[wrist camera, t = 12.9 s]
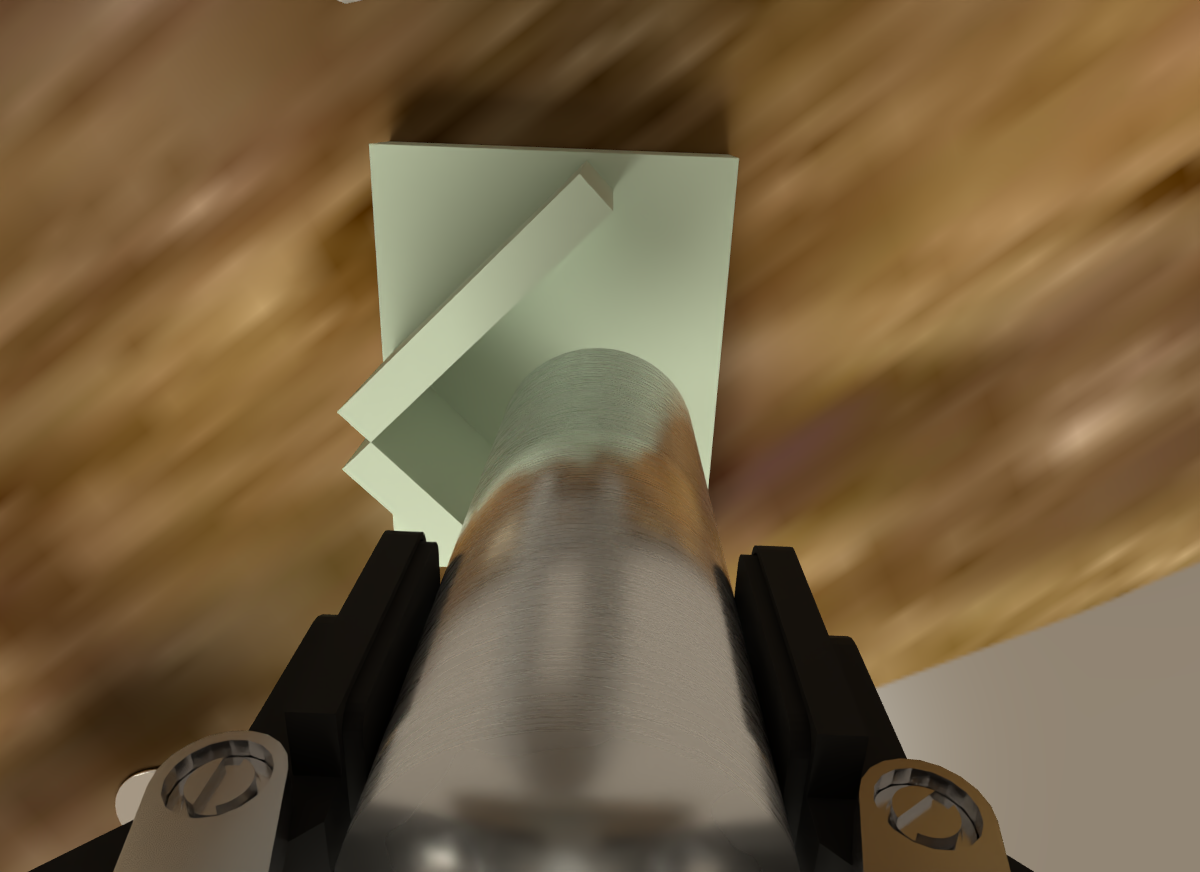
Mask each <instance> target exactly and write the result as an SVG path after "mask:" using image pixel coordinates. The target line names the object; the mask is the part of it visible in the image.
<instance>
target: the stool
mask: <svg viewBox="0 0 1200 872" xmlns="http://www.w3.org/2000/svg"><path fill="white" fill-rule="evenodd" d="M338 1H340V2H343V3H345V4H346V3H351V2H355V1H360V0H338Z"/></svg>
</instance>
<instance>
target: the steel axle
mask: <svg viewBox="0 0 1200 872" xmlns="http://www.w3.org/2000/svg"><path fill="white" fill-rule="evenodd" d="M334 872H800V868H799V864H798V860H797V856H796V852H795V848H794V843H793V839H792V835H791V831H790V827H789V823H788V819H787V815H786V810H785V806H784V802H783V798H782V794H781V790H780V786H779V781H778V777H777V773H776V769H775V765H774V761H773V757H772V752H771V748H770V744H769V740H768V736H767V732H766V728H765V724H764V719H763V715H762V711H761V707H760V703H759V699H758V695H757V690H756V686H755V682H754V678H753V674H752V670H751V666H750V662H749V657H748V653H747V649H746V645H745V641H744V637H743V633H742V628H741V624H740V620H739V616H738V612H737V608H736V604H735V599H734V595H733V591H732V587H731V583H730V579H729V575H728V571H727V566H726V562H725V558H724V554H723V550H722V546H721V542H720V537H719V533H718V529H717V525H716V521H715V517H714V513H713V508H712V504H711V500H710V496H709V492H708V488H707V484H706V480H705V475H704V471H703V467H702V463H701V459H700V455H699V451H698V446H697V442H696V438H695V434H694V430H693V426H692V422H691V418H690V414H689V411H688V408H687V406H686V403H685V401H684V399H683V397H682V396H681V394H680V392H679V391H678V389H677V388H676V386H675V385H674V384H673V383H672V382H671V380H670V379H669V378H668V377H667V376H666V375H665V374H664V373H663V372H661V371H660V370H659V369H658V368H656V367H655V366H653V365H652V364H651V363H649V362H647V361H645V360H643V359H641V358H640V357H637V356H635V355H632V354H629V353H627V352H623V351H618V350H614V349H605V348H587V349H580V350H574V351H571V352H567V353H564V354H561V355H559V356H556V357H554V358H552V359H550V360H548V361H546V362H545V363H543V364H541V365H540V366H538V367H537V368H536V369H535V370H533V371H532V372H531V373H530V374H529V375H528V376H527V377H526V378H525V379H524V380H523V381H522V382H521V384H520V385H519V386H518V388H517V389H516V390H515V392H514V394H513V396H512V398H511V399H510V401H509V404H508V406H507V409H506V411H505V414H504V417H503V419H502V422H501V425H500V427H499V430H498V433H497V435H496V438H495V441H494V443H493V446H492V449H491V451H490V454H489V457H488V459H487V462H486V465H485V467H484V470H483V473H482V475H481V478H480V481H479V483H478V486H477V489H476V491H475V494H474V497H473V499H472V502H471V504H470V507H469V510H468V512H467V515H466V518H465V520H464V523H463V526H462V528H461V531H460V534H459V536H458V539H457V542H456V544H455V547H454V550H453V552H452V555H451V558H450V560H449V563H448V566H447V568H446V571H445V574H444V576H443V579H442V582H441V584H440V587H439V590H438V592H437V595H436V598H435V600H434V603H433V605H432V608H431V611H430V613H429V616H428V619H427V621H426V624H425V627H424V629H423V632H422V635H421V637H420V640H419V643H418V645H417V648H416V651H415V653H414V656H413V659H412V661H411V664H410V667H409V669H408V672H407V675H406V677H405V680H404V683H403V685H402V688H401V691H400V693H399V696H398V698H397V701H396V704H395V706H394V709H393V712H392V714H391V717H390V720H389V722H388V725H387V728H386V730H385V733H384V736H383V738H382V741H381V744H380V746H379V749H378V752H377V754H376V757H375V760H374V762H373V765H372V768H371V770H370V773H369V776H368V778H367V781H366V784H365V786H364V789H363V792H362V794H361V797H360V799H359V802H358V805H357V807H356V810H355V813H354V815H353V818H352V821H351V823H350V826H349V829H348V831H347V834H346V837H345V839H344V842H343V845H342V848H341V850H340V853H339V856H338V859H337V862H336V865H335V870H334Z"/></svg>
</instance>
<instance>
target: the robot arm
mask: <svg viewBox="0 0 1200 872" xmlns="http://www.w3.org/2000/svg"><path fill="white" fill-rule="evenodd" d="M439 587H440V568H439V549H438V544H437V542H426V537H425V534H424V532H414V531H390V530H387V531H385V532H384V533H383V535H382V537H381V538H380V540H379V542H378V544H377V546H376V547H375V549H374V551H373V553H372V555H371V556H370V558H369V560H368V562H367V564H366V565H365V567H364V569H363V571H362V573H361V574H360V576H359V578H358V580H357V582H356V583H355V585H354V587H353V589H352V591H351V592H350V594H349V596H348V598H347V600H346V601H345V603H344V605H343V607H342V609H341V610H340V612H339V614H338V615H326V614H323V615H320V616H318V617H317V618H316V619H315V621H314V622H313V623H312V625H311V627H310V628H309V630H308V632H307V633H306V635H305V637H304V638H303V640H302V642H301V644H300V645H299V647H298V649H297V650H296V652H295V654H294V655H293V657H292V659H291V660H290V662H289V664H288V665H287V667H286V669H285V670H284V672H283V674H282V675H281V677H280V679H279V680H278V682H277V684H276V685H275V687H274V689H273V691H272V692H271V694H270V696H269V697H268V699H267V701H266V702H265V704H264V706H263V707H262V709H261V711H260V712H259V714H258V716H257V717H256V719H255V721H254V722H253V724H252V726H251V727H250V729H249V731H229V732H225V733H220V734H215V735H211V736H208V737H206V738H203V739H201V740H198V741H196V742H193V743H191V744H189V745H187V746H186V747H184V748H183V749H181V750H179V751H178V752H176V753H175V754H173V755H172V756H170V757H169V758H168V759H167V760H166V761H165V762H164V763H163V764H162V765H161V766H160V767H159V768H158V769H157V770H156V772H155V773H154V775H153V777H152V778H151V780H150V782H149V783H148V785H147V787H146V790H145V792H144V795H143V798H142V800H141V803H140V805H139V808H138V810H137V813H136V815H135V818H134V820H132V821H130V822H128V823H126V824H124V825H122V826H120V827H118V828H116V829H114V830H112V831H110V832H108V833H106V834H104V835H101V836H99V837H97V838H95V839H93V840H91V841H89V842H87V843H85V844H83V845H81V846H79V847H77V848H75V849H73V850H71V851H69V852H67V853H65V854H63V855H61V856H59V857H57V858H55V859H53V860H51V861H49V862H47V863H45V864H43V865H41V866H39V867H37V868H35V869H33V870H31V871H29V872H334V870H335V865H336V862H337V859H338V856H339V853H340V850H341V848H342V845H343V842H344V839H345V837H346V834H347V831H348V829H349V826H350V823H351V821H352V818H353V815H354V813H355V810H356V807H357V805H358V802H359V799H360V797H361V794H362V792H363V789H364V786H365V784H366V781H367V778H368V776H369V773H370V770H371V768H372V765H373V762H374V760H375V757H376V754H377V752H378V749H379V746H380V744H381V741H382V738H383V736H384V733H385V730H386V728H387V725H388V722H389V720H390V717H391V714H392V712H393V709H394V706H395V704H396V701H397V698H398V696H399V693H400V691H401V688H402V685H403V683H404V680H405V677H406V675H407V672H408V669H409V667H410V664H411V661H412V659H413V656H414V653H415V651H416V648H417V645H418V643H419V640H420V637H421V635H422V632H423V629H424V627H425V624H426V621H427V619H428V616H429V613H430V611H431V608H432V605H433V603H434V600H435V598H436V595H437V592H438V590H439ZM734 599H735V604H736V608H737V612H738V616H739V620H740V624H741V628H742V633H743V637H744V641H745V645H746V649H747V653H748V657H749V662H750V666H751V670H752V674H753V678H754V682H755V686H756V690H757V695H758V699H759V703H760V707H761V711H762V715H763V719H764V724H765V728H766V732H767V736H768V740H769V744H770V748H771V752H772V757H773V761H774V765H775V769H776V773H777V777H778V781H779V786H780V790H781V794H782V798H783V802H784V806H785V810H786V815H787V819H788V823H789V827H790V831H791V835H792V839H793V843H794V848H795V852H796V856H797V860H798V864H799V868H800V872H1034V871H1032V870H1030V869H1029V868H1027V867H1026V866H1024V865H1022V864H1021V863H1019V862H1017V861H1016V860H1014V859H1013V858H1011V857H1009V856H1008V855H1006V851H1005V847H1004V843H1003V839H1002V836H1001V832H1000V827H999V824H998V821H997V818H996V816H995V814H994V812H993V810H992V807H991V805H990V804H989V803H988V802H987V800H986V799H985V798H984V797H983V796H982V794H981V793H980V792H979V791H978V790H977V789H976V788H975V787H973V786H972V785H971V784H970V783H968V782H967V781H966V780H964V779H963V778H962V777H960V776H958V775H957V774H955V773H953V772H951V771H949V770H947V769H945V768H943V767H941V766H938V765H934V764H931V763H928V762H925V761H921V760H913V759H912V760H911V759H907V758H906V756H905V753H904V751H903V749H902V747H901V744H900V742H899V740H898V738H897V736H896V733H895V731H894V729H893V726H892V724H891V722H890V720H889V717H888V715H887V713H886V711H885V709H884V706H883V704H882V702H881V700H880V697H879V695H878V693H877V691H876V688H875V686H874V684H873V682H872V679H871V677H870V675H869V673H868V670H867V668H866V666H865V664H864V661H863V659H862V657H861V655H860V653H859V650H858V648H857V646H856V644H855V642H854V641H853V639H852V638H850V637H848V636H829V635H828V633H827V630H826V628H825V625H824V623H823V620H822V618H821V615H820V613H819V610H818V608H817V605H816V603H815V600H814V598H813V595H812V593H811V590H810V588H809V585H808V583H807V580H806V578H805V575H804V573H803V570H802V568H801V565H800V563H799V560H798V558H797V555H796V553H795V551H794V549H793V547H779V546H754V548H753V551H752V555H742V554H741V555H740V557H739V562H738V569H737V578H736V587H735V596H734Z"/></svg>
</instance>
